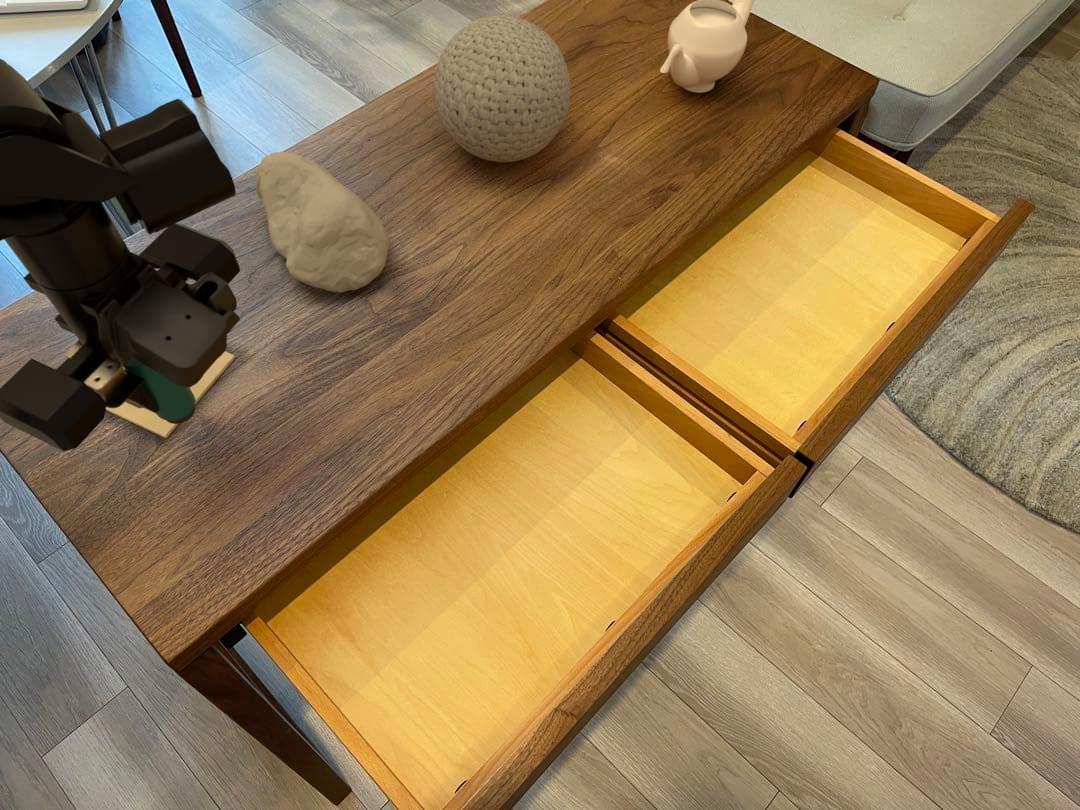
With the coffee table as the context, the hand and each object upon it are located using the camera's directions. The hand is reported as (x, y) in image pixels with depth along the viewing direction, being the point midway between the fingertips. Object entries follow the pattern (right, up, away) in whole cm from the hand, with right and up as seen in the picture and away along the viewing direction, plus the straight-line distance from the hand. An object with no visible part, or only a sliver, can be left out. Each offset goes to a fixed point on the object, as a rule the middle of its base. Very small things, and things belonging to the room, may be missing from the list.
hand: (167, 393), depth 63 cm
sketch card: (-6, +2, +10) cm, 12 cm away
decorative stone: (+7, +16, +20) cm, 27 cm away
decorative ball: (+26, +29, +30) cm, 49 cm away
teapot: (+50, +41, +38) cm, 75 cm away
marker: (0, -1, +2) cm, 3 cm away
